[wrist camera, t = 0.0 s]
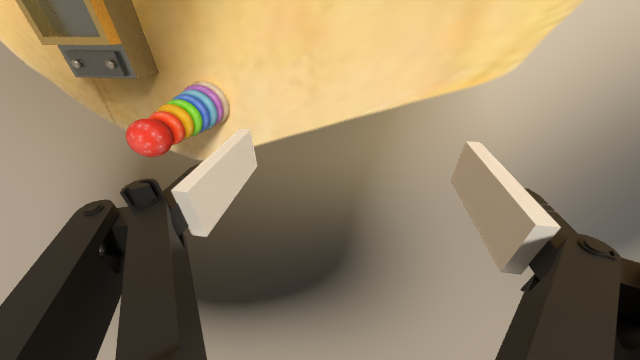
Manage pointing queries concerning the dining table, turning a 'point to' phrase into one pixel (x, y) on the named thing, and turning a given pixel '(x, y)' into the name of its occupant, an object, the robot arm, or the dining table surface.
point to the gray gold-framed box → (93, 36)
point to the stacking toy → (179, 119)
